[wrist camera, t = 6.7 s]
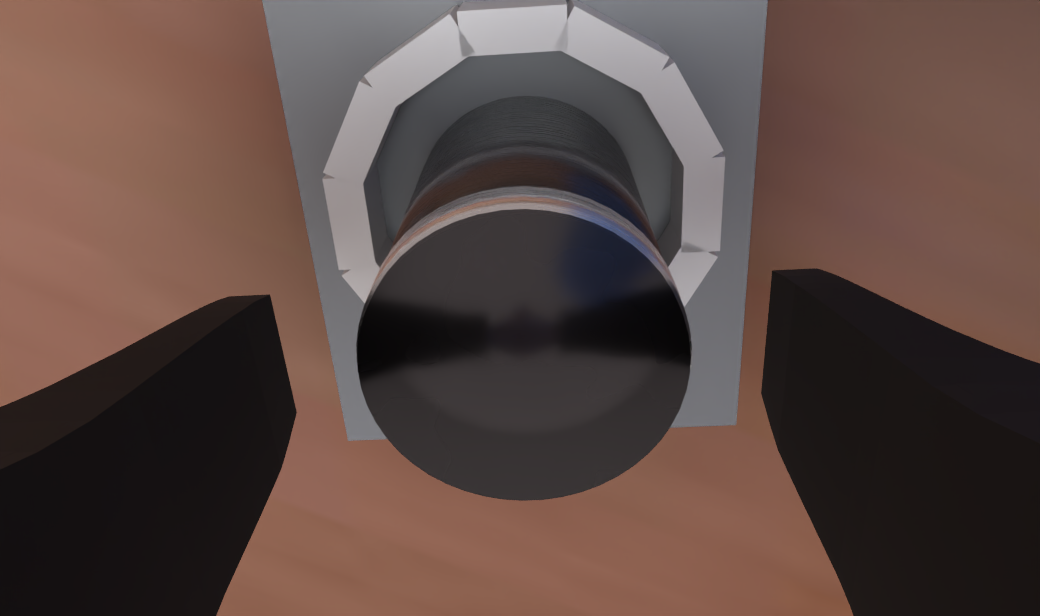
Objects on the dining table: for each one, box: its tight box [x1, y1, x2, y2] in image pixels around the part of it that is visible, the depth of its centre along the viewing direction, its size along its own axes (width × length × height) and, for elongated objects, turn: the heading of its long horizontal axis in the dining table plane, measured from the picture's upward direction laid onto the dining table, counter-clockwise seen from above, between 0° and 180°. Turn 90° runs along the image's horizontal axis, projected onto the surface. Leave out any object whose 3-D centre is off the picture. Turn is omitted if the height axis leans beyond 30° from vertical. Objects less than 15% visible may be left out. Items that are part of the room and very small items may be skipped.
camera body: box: [262, 0, 768, 441], centre depth 18 cm, size 10×13×4 cm
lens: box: [356, 96, 692, 500], centre depth 15 cm, size 5×5×7 cm
